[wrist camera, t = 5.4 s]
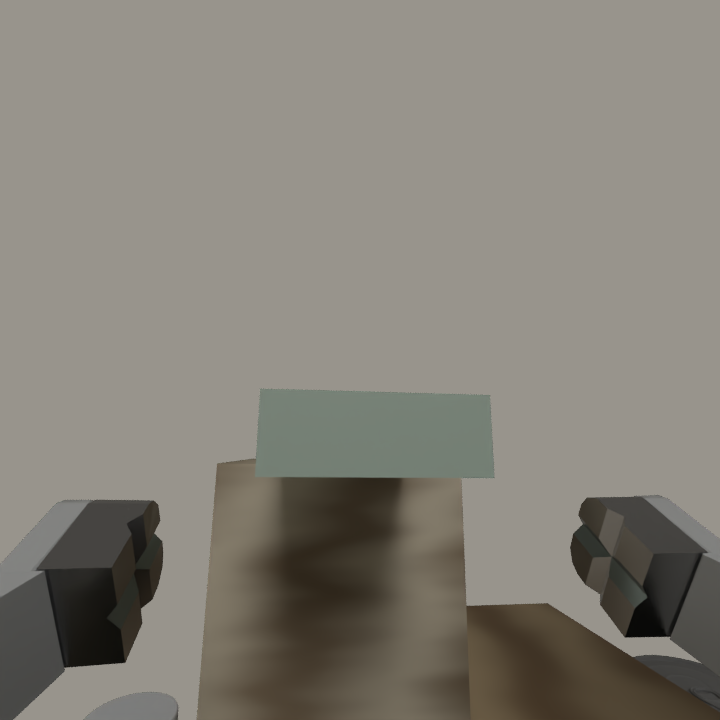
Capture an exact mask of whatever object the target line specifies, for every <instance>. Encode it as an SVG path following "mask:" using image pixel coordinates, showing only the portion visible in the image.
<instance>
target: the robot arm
mask: <svg viewBox="0 0 720 720" xmlns="http://www.w3.org/2000/svg"><path fill="white" fill-rule="evenodd" d="M579 517H580V519H581V521H582V523H583V525H582V526H581V527H580V528H579V529H578V530H577V531H576V532H575V533H574V534H573V538H572V542H571V547H570V549H571V556H572V562H573V565H574V567H575V569H576V571H577V574H578V575H579V576H580V578H581V579H582V581H583V582H584V583H585V585H587V586H588V587H590V588H591V589H593V590H595V591H596V592H598V593H599V594H600V605H601V606H602V607H603V609H604V610H605V612H606V613H607V614H608V616H609V617H610V618H611V620H612V621H613V622H614V623H615V625H616V626H617V628H618V629H619V630H620V632H621V633H622V634H623V636H624V637H670V640H672V641H673V642H674V643H676V644H677V645H678V646H680V647H681V648H682V649H684V650H685V651H686V652H688V653H689V654H690V655H692V656H693V657H694V658H696V659H697V660H698V661H700V662H701V663H702V664H704V665H705V666H706V667H708V668H709V669H710V670H712V671H713V672H714V673H716V674H717V675H718V676H720V539H719V538H718V537H717V536H715V535H714V534H713V533H711V532H710V531H709V530H708V529H706V528H705V527H704V526H702V525H701V524H700V523H699V522H697V521H696V520H695V519H693V518H692V517H691V516H690V515H688V514H687V513H686V512H685V511H683V510H682V509H681V508H679V507H678V506H677V505H676V504H674V503H673V502H672V501H670V500H669V499H668V498H665V497H662V496H659V495H650V496H634V497H600V498H586V499H585V501H584V502H583V503H582V504H581V508H580V511H579ZM159 522H160V515H159V508H158V504H157V503H156V502H155V501H142V500H141V501H139V500H94V501H93V500H64V501H61V502H58V503H56V504H55V505H54V506H53V507H52V508H51V510H50V511H49V512H48V513H47V514H46V515H45V516H44V517H43V518H42V519H41V520H40V521H39V523H38V524H37V525H36V526H35V527H34V528H33V529H32V530H31V531H30V533H28V535H27V536H26V537H25V538H24V539H23V540H22V541H21V542H20V543H19V545H18V546H17V547H16V548H15V549H14V550H13V551H12V552H11V553H10V554H9V555H8V556H7V558H6V559H5V560H4V561H3V562H2V563H1V564H0V720H13V719H14V718H15V717H16V716H18V714H20V713H21V711H23V710H24V709H25V708H26V707H27V706H28V705H29V704H30V703H31V702H32V701H33V700H35V698H37V697H38V696H39V695H40V694H41V693H42V692H43V691H44V690H45V689H46V688H47V687H48V686H49V685H50V684H52V683H53V682H54V681H55V680H56V679H57V678H58V677H59V676H60V675H61V674H62V673H63V672H64V670H65V669H64V668H66V667H78V666H90V665H102V664H115V663H125V662H126V660H127V657H128V655H129V653H130V650H131V648H132V646H133V644H134V641H135V639H136V637H137V634H138V632H139V629H140V627H141V625H142V616H141V608H142V607H143V606H145V605H146V604H147V603H149V602H150V601H151V600H152V599H153V597H154V594H155V592H156V589H157V586H158V584H159V579H160V575H161V570H162V564H163V546H162V541H161V540H160V539H159V538H158V537H157V536H156V535H155V534H154V532H155V530H156V528H157V526H158V524H159Z"/></svg>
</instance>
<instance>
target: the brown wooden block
mask: <svg viewBox="0 0 720 720" xmlns="http://www.w3.org/2000/svg"><path fill="white" fill-rule="evenodd" d="M466 611H467V637H468V663H469V689H470V715H471V720H720V712H718V711H717V710H715V709H714V708H712V707H710V706H709V705H707V704H706V703H704V702H703V701H701V700H699V699H698V698H696V697H695V696H693V695H691V694H690V693H688V692H687V691H685V690H684V689H682V688H680V687H679V686H677V685H676V684H674V683H672V682H671V681H669V680H668V679H666V678H665V677H663V676H661V675H660V674H658V673H657V672H655V671H654V670H652V669H650V668H649V667H647V666H646V665H644V664H642V663H641V662H639V661H638V660H636V659H635V658H633V657H631V656H630V655H628V654H627V653H625V652H623V651H622V650H620V649H619V648H617V647H616V646H614V645H612V644H611V643H609V642H608V641H606V640H604V639H603V638H601V637H600V636H598V635H597V634H595V633H593V632H592V631H590V630H589V629H587V628H585V627H584V626H582V625H581V624H579V623H578V622H576V621H574V620H573V619H571V618H570V617H568V616H566V615H565V614H563V613H562V612H560V611H559V610H557V609H555V608H554V607H552V606H551V605H549V604H548V603H546V604H545V603H544V604H515V605H482V606H466Z"/></svg>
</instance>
